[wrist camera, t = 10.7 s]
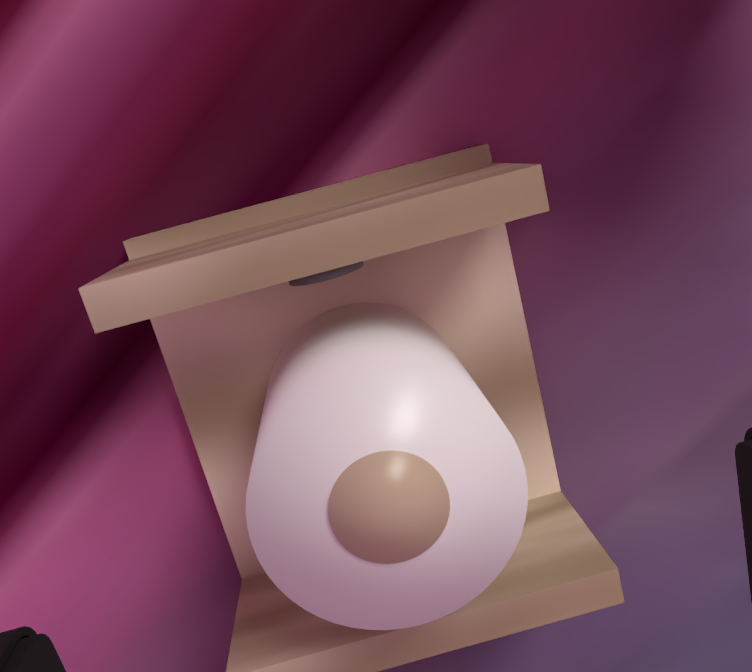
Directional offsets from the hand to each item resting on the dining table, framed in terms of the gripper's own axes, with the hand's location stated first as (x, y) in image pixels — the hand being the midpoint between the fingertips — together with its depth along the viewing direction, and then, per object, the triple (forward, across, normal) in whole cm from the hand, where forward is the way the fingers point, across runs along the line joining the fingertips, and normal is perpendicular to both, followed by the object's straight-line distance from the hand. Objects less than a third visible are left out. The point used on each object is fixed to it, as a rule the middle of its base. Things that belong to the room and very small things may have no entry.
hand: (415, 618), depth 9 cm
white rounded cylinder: (+11, 0, +1) cm, 11 cm away
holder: (+12, 0, +1) cm, 12 cm away
